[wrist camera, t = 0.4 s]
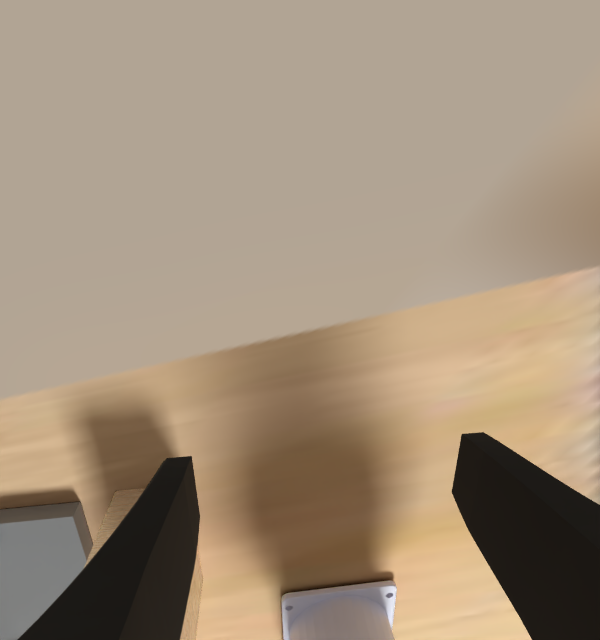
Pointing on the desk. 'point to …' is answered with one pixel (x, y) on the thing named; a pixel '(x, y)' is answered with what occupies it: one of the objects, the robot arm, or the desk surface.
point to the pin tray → (38, 560)
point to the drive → (113, 518)
